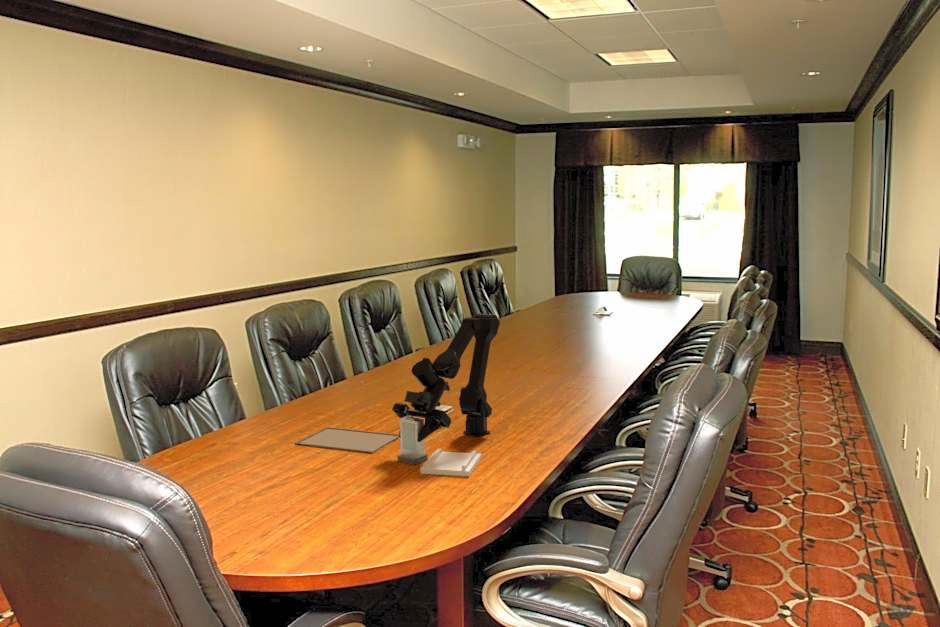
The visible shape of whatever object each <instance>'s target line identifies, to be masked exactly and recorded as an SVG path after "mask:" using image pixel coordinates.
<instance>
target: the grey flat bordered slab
mask: <svg viewBox="0 0 940 627" xmlns="http://www.w3.org/2000/svg"><path fill="white" fill-rule="evenodd" d="M397 438H399V434H398V433H388V432H381V431H380V432H377V431H368V430H359V429H349V428H341V427H332V426H331V427H330V426H327V427H325V428H323V429H320V430H318V431H316V432H314V433H312V434H310V435H308V436H306V437H304V438H302V439H300V440H298V441H296V442H294V445H295V444H301V445H300V446H303V445H308V446H307V447H311V446H316V447H315V448H320V447H325V448H324V449H328V448H333V449H332V450H337V449H343V450H342V451H345V450H352V451H351V452H354V451H361V452H360V453H362V452H368V453H367V454H371V453H374V452H375V453H377V452H378V451H377V450H379V449H380V448H382V447H384V446H385V445H387V444H389V443H390V444H392V443H393V442H392V441H394V440H395V441H397V440H398V439H397ZM396 439H397V440H396ZM399 439H400V438H399ZM395 441H394V442H395ZM391 442H392V443H391ZM390 444H389V445H390ZM387 446H388V445H387ZM385 447H386V446H385ZM385 447H384V448H385ZM382 449H383V448H382ZM380 450H381V449H380ZM380 450H379V451H380ZM376 451H377V452H376ZM375 453H374V454H375Z"/></svg>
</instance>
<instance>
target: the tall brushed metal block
mask: <svg viewBox="0 0 940 627" xmlns="http://www.w3.org/2000/svg"><path fill="white" fill-rule="evenodd" d="M424 424H425V418H420V417H414V416H413V417H408V416H405V417H402V418H399V432H400V438H399V440H400V454H399V455H397V462H400V461H402V462H401V463H405V462H406V464H409V465H418V464H420V463H422V462H425V461H427V460H428V459H429V457H428V453H425V439H423V440H422V441H421V442H418V441H417V439H418V436H419V434H420V432H421V430H422V428H423V426H424ZM424 460H425V461H424Z"/></svg>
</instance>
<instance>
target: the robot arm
mask: <svg viewBox="0 0 940 627" xmlns="http://www.w3.org/2000/svg"><path fill="white" fill-rule="evenodd" d="M461 320H462V321H461V325H460V326H459V328H458V329H457V332H456V333H455V335H454V337H453V339H452V340H451V342H450V343H449V345H448V346H447V348H446V350H445V351H444V352H441V353H440V354H438V356H437V357H436V358H435V359H434V361H433V362H432V361H431V359H430V358H429V357H423V358H422V359H421V360H420V361H418V362H416V363H415V364H414V365H413V366H412V368H411V373H412V375H413V376H414V378H416V380H417V381H418V383H419V384H420V385H421V386H422V387H424V389H423V390H422V391H419V392H417V391H410V390H406V393H405V398H404V403H402V402H396V403H394V404H393V407H392V408H391V410H392V411H393V412H394V414H395V415H397V417H398V418H399V419H400V418H402V417H405V416H408V417H414V418H419V419H424V426H423V428H422V430H421V432H420V434H419V436H418V439H417V441H418V442H421V441H422V440H423V439H424V440H425V439H426V438H427V437H429V436H430V435H431V434H433V433H434V432H436V431H438V430H441V429H442V428H446V429H449V428H450V426H451V424H452V419H451V417H450V416H449V415H448V414H447V412H446V411H445V410H443V409H437V408H439V407H441V402H440V400H441V398H442V397H443V394H444V392H445V391H446V392H449V391H451V389H450V385H449V382H448V381H446V380H445V379H447V380H448V379H449V380H450V379H451V380H452V379H455V378H456V376H457V375H458V372H459V370H460V369H461V358H462V356H463V355H464V353H465V351H466V349H467V347H468V346H469V344H470V342H471V340H472V339H473V337H474V339H475V340H474V348H473V354H472V359H471V365H470V369H469V370H470V372H469V377H468V382H467V384H466V386H465V387H461V389H460V395H459V398H458V401H459V408H460V410H461V415H465V417H466V418H465V419H466V420H465V430H464V431H463V434H467V435H469V436H472V437H480V436H484V435H488V434H491V430H488V418H489V417H490V416H492V413H493V411H492V410H493V408H492V406H491V405H490V404H489V403H488V401H487V400H488V398H487V396H488V394H487V392H486V389H485V387H484V386H485V380H486V379H485V378H486V372H487V366H488V360H489V353H490V347H491V342H492V341H493V340H494V339H495V337H496V336H497V334H498V331H499V328H500V324H501V323H500V319H499V318H498V315H497V314H492V313H491V314H490V313H489V314H488V313H477V314H475V316H468V317H464V318H463V319H461ZM407 403H409V404H410V406H411V407H412V408H413V409H412V408H410V407H409V405H408V404H407ZM399 437H400V431H399Z"/></svg>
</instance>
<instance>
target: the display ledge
mask: <svg viewBox="0 0 940 627" xmlns="http://www.w3.org/2000/svg"><path fill="white" fill-rule="evenodd" d="M442 450H443V449H442V448H437V450H435V451H434V452H433V453H432V454H431V456H429V457H428V459H427V460H425V461H424V464H423V465H422V466H420V468H419V469H420V470H419V471H420V473H419V474H423V475H435V476H436V475H438V476H439V475H440V476H453V477H454V476H456V477H467V476H469V477H470V476H471V475H470V474H473V472H474V470H475V469H476V467H477V466H478V464H479V463H480V462H481V460H482V453H477V450H475V449H474V450H472V451H471V452H457V451H454V452H453V451H442ZM476 465H477V466H476ZM474 468H475V469H474ZM472 471H473V472H472Z"/></svg>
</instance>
